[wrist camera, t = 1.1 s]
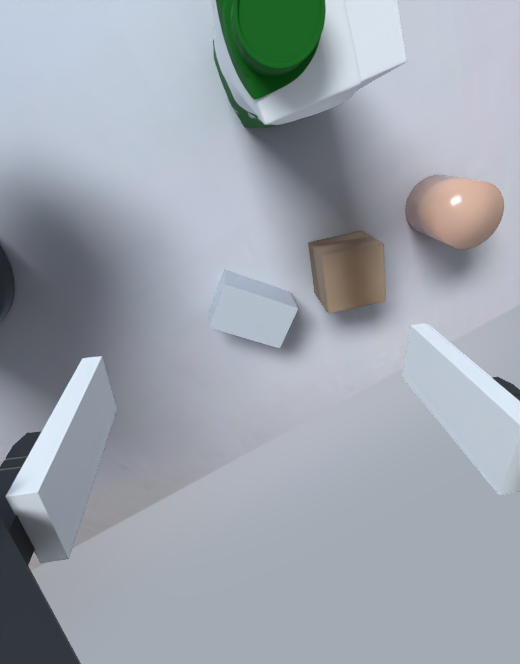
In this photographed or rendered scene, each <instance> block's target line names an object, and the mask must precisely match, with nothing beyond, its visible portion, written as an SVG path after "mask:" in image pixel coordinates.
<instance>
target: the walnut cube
mask: <svg viewBox="0 0 520 664" xmlns="http://www.w3.org/2000/svg"><path fill="white" fill-rule="evenodd" d="M308 245H309V253H310V260H311V268H312V276H313V284H314V292H315V294H316V296H317V297H318V299H319V300H320V302H321V303H322V305H323V306H324V308H325V309H326V311H327V312H328V314H329V313H334V312H338V311H343V310H347V309H352V308H356V307H361V306H366V305H370V304H375V303H379V302H384V301H385V268H384V244H383V243H381V242H379V241H378V240H376V239H374V238H373V237H371V236H369V235H368V234H366V233H364V232H363V231H359V232H355V233H350V234H345V235H341V236H336V237H331V238H327V239H322V240H317V241H313V242H308Z"/></svg>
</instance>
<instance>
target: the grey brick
mask: <svg viewBox="0 0 520 664" xmlns="http://www.w3.org/2000/svg"><path fill="white" fill-rule="evenodd" d="M297 310H298V307H297V305H296V303H295V301H294V299H293V297H292V295H291V293H290V292H289V291H286V290H283V289H280V288H277V287H274V286H271V285H268V284H265V283H263V282H260V281H257V280H254V279H251V278H248V277H245V276H242V275H239V274H236V273H233V272H230V271H227V270H224V271H223V273H222V276H221V279H220V282H219V285H218V287H217V290H216V293H215V296H214V298H213V301H212V304H211V307H210V320H209V328H212V329H215V330H219V331H222V332H226V333H229V334H232V335H236V336H239V337H243V338H246V339H249V340H253V341H256V342H260V343H263V344H266V345H270V346H273V347H276V348H280V347H281V345H282V343H283V341H284V338H285V336H286V334H287V332H288V330H289V328H290V325H291V323H292V321H293V319H294V317H295V315H296V313H297Z"/></svg>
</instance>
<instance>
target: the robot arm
mask: <svg viewBox="0 0 520 664" xmlns="http://www.w3.org/2000/svg"><path fill="white" fill-rule="evenodd" d="M13 296H14V280H13V274H12V271H11V267H10V265H9V262H8V260H7V258H6V256H5V254H4V252H3V250H2V249H1V247H0V322H1V321H2V319H3V318H4V317H5V316H6V314H7V313H8V311H9V309H10V307H11V304H12V301H13ZM402 377H403V378H404V380H405V381H406V382H407V384H408V385H409V386H410V387H411V388H412V390H413V391H414V392H415V393H416V395H417V396H418V397H419V398H420V399H421V401H422V402H423V403H424V404H425V405H426V407H427V408H428V409H429V410H430V412H431V413H432V414H433V415H434V417H436V419H437V420H438V421H439V423H440V424H441V425H442V426H443V427H444V428H445V430H446V431H447V432H448V433H449V435H450V436H451V437H452V438H453V440H454V441H455V442H456V443H457V445H458V446H459V447H460V448H461V449H462V451H463V452H464V453H465V454H466V455H467V457H468V458H469V459H470V460H471V462H472V463H473V464H474V465H475V466H476V468H477V469H478V470H479V471H480V473H481V474H482V475H483V476H484V477H485V479H486V480H487V481H488V482H489V483H490V485H491V486H492V487H493V488H494V490H495V491H496V492H497V493H498V494H499V495H502V494H508V493H514V492H520V390H519V389H518V388H517V387H515V386H514V385H513V384H511V383H509V382H507V381H505V380H503V379H501V378H499V377H493V378H492V377H490V376H489V375H488V374H487V373H485V372H484V371H483V370H482V369H481V368H480V367H479V366H477V365H476V364H475V363H474V362H472V361H471V360H470V359H469V358H468V357H467V356H465V355H464V354H463V353H462V352H461V351H459V350H458V349H457V348H456V347H455V346H454V345H452V344H451V343H450V342H449V341H448V340H446V339H445V338H444V337H443V336H442V335H440V334H439V333H438V332H437V331H436V330H434V329H433V328H432V327H431V326H430V325H428V324H427V323H425V324H415V325H410V331H409V337H408V343H407V350H406V356H405V362H404V368H403V375H402ZM116 412H117V407H116V404H115V400H114V397H113V393H112V390H111V386H110V382H109V379H108V375H107V372H106V368H105V365H104V361H103V358H102V356H99V357H89V358H82V360H81V362H80V364H79V365H78V367H77V369H76V371H75V373H74V374H73V376H72V378H71V380H70V382H69V383H68V385H67V387H66V389H65V391H64V392H63V394H62V396H61V398H60V400H59V401H58V403H57V405H56V407H55V409H54V410H53V412H52V414H51V416H50V418H49V419H48V421H47V423H46V425H45V427H44V428H43V430H42V432H33V433H27V434H26V435H25V436H23V437H22V438H21V439H20V440H19V441H18V442H17V443H16V444H14V445H13V447H12V449H11V450H10V452H9V453H8V455H7V457H6V460H5V461H3V463H2V465H1V466H0V664H81V663H80V661H79V660H78V658H77V656H76V654H75V652H74V650H73V648H72V647H71V645H70V643H69V641H68V639H67V637H66V635H65V634H64V632H63V630H62V628H61V626H60V624H59V622H58V621H57V619H56V617H55V615H54V613H53V611H52V609H51V608H50V606H49V604H48V602H47V600H46V598H45V596H44V595H43V593H42V591H41V589H40V587H39V585H38V584H37V582H36V580H35V578H34V576H33V574H32V572H31V570H30V569H29V567H28V564H29V562H30V559H31V557H32V554H33V552H35V554H36V555H37V557H38V559H39V561H40V563H45V562H51V561H57V560H65V559H69V556H70V553H71V550H72V547H73V544H74V541H75V538H76V535H77V532H78V529H79V526H80V523H81V520H82V516H83V513H84V510H85V507H86V504H87V501H88V498H89V495H90V492H91V489H92V486H93V483H94V479H95V476H96V473H97V470H98V467H99V464H100V461H101V458H102V455H103V452H104V449H105V446H106V442H107V439H108V436H109V433H110V430H111V427H112V424H113V421H114V418H115V415H116Z"/></svg>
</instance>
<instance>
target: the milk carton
mask: <svg viewBox="0 0 520 664" xmlns="http://www.w3.org/2000/svg"><path fill="white" fill-rule="evenodd" d="M211 5H212V12H213V20H214V40H213V47H214V60H215V63H216V66H217V69H218V72H219V75H220V78H221V81H222V84H223V86H224V89H225V91H226V93H227V96H228V99H229V101H230V103H231V105H232V107H233V109H234V111H235V112H236V114H237V115H238V117H239V119H240V120H241V122H242V124H243V126H244V127H272V126H276V125H280V124H285V123H289V122H292V121H295V120H298V119H302V118H305V117H309V116H312V115H315V114H318V113H321V112H323V111H326V110H328V109H331V108H333V107H335V106H337V105H340V104H342V103H344V102H345V101H347V100H348V99H349V98H350V97H351V96H352V95H353V94H354V93H355V92H356V91H357V90H359V89H360V88H362V87H364V86H365V85H367V84H369V83H370V82H372V81H374V80H375V79H377V78H379V77H381V76H382V75H384V74H386V73H388V72H390V71H391V70H393V69H395V68H397V67H398V66H400V65H402V64H404V63H405V62H406V61H407V58H406V52H405V46H404V39H403V33H402V27H401V21H400V15H399V8H398V2H397V0H211Z"/></svg>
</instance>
